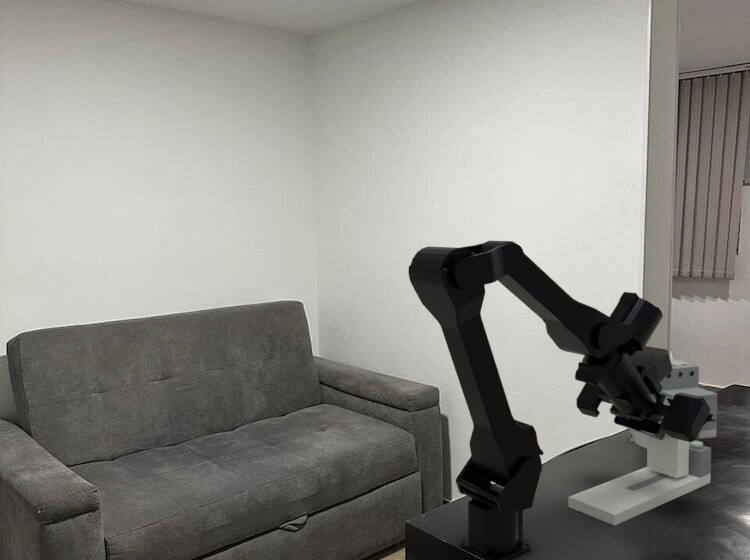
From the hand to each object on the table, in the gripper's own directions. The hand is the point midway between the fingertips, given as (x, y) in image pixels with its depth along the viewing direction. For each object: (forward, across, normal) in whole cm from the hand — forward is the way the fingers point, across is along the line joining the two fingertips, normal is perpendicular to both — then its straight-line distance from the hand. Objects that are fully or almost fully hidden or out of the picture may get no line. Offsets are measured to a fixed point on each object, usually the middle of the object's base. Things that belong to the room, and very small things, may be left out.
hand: (661, 437), depth 105 cm
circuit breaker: (+17, +8, -6) cm, 20 cm away
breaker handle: (+5, 0, +3) cm, 6 cm away
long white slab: (+2, 0, +9) cm, 9 cm away
